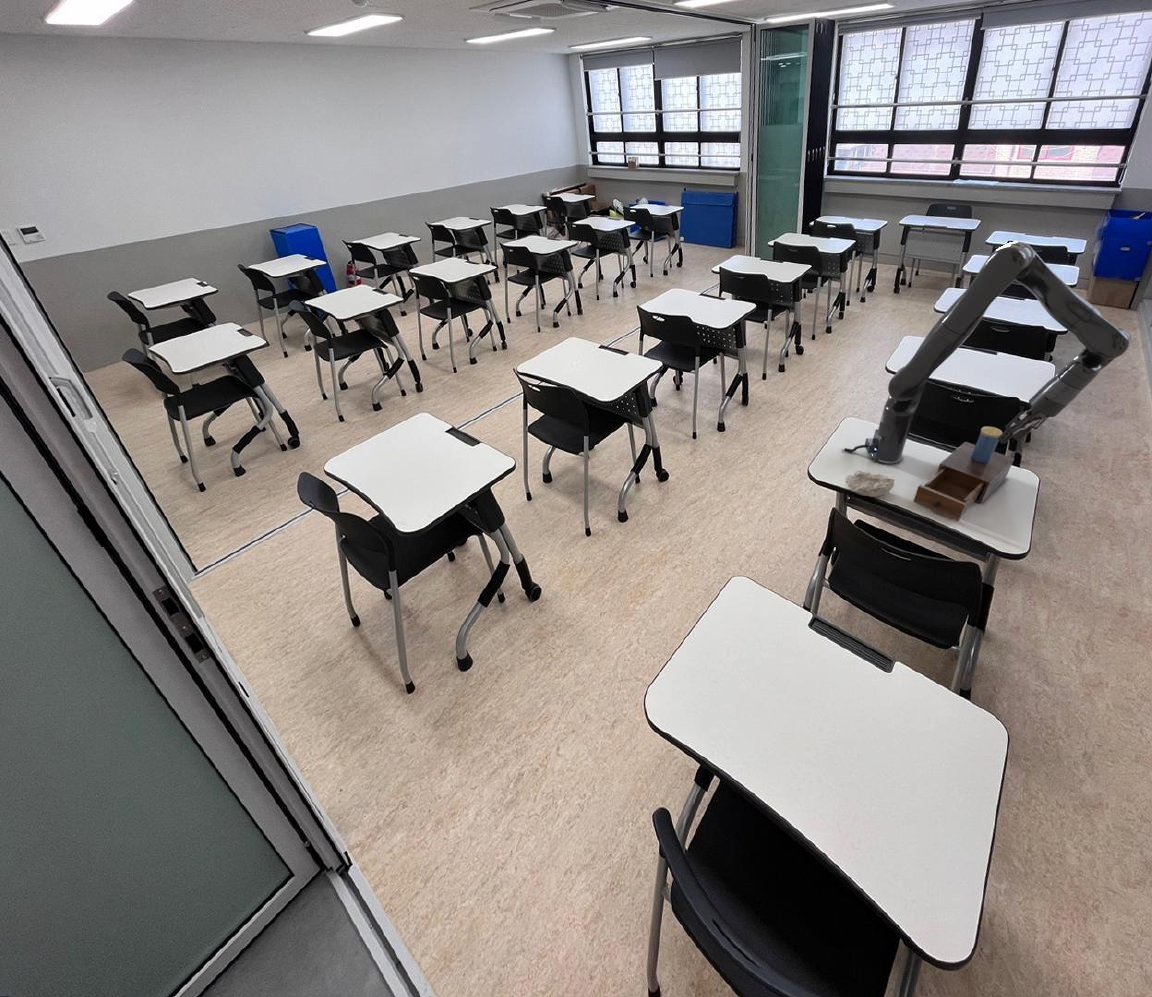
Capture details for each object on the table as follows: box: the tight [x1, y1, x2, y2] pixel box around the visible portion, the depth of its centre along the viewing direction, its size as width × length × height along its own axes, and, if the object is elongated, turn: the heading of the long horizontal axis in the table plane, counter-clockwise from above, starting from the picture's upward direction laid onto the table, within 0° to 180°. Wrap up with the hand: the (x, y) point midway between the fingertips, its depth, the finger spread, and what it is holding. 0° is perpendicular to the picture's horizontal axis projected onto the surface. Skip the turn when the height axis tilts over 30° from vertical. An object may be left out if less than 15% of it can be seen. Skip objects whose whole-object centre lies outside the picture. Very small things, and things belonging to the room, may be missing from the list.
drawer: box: [913, 468, 986, 522], centre depth 177 cm, size 18×13×6 cm
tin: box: [971, 426, 1003, 462], centre depth 179 cm, size 6×6×10 cm
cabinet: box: [935, 441, 1015, 504], centre depth 184 cm, size 18×15×8 cm
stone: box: [844, 469, 896, 498], centre depth 185 cm, size 8×12×10 cm
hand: (1007, 440), depth 165 cm, fingers open, 8 cm apart
